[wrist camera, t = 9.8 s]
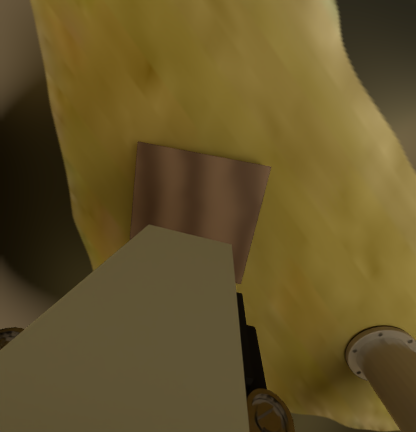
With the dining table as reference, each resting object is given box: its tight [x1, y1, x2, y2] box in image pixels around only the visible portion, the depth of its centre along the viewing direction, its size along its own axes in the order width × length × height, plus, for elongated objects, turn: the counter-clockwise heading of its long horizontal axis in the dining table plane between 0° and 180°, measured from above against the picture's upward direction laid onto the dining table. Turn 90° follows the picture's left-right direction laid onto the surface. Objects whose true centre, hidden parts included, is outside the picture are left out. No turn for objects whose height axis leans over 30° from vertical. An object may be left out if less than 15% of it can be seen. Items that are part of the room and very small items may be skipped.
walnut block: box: [130, 142, 271, 284], centre depth 32 cm, size 18×18×6 cm
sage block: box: [0, 225, 249, 432], centre depth 8 cm, size 5×5×10 cm
